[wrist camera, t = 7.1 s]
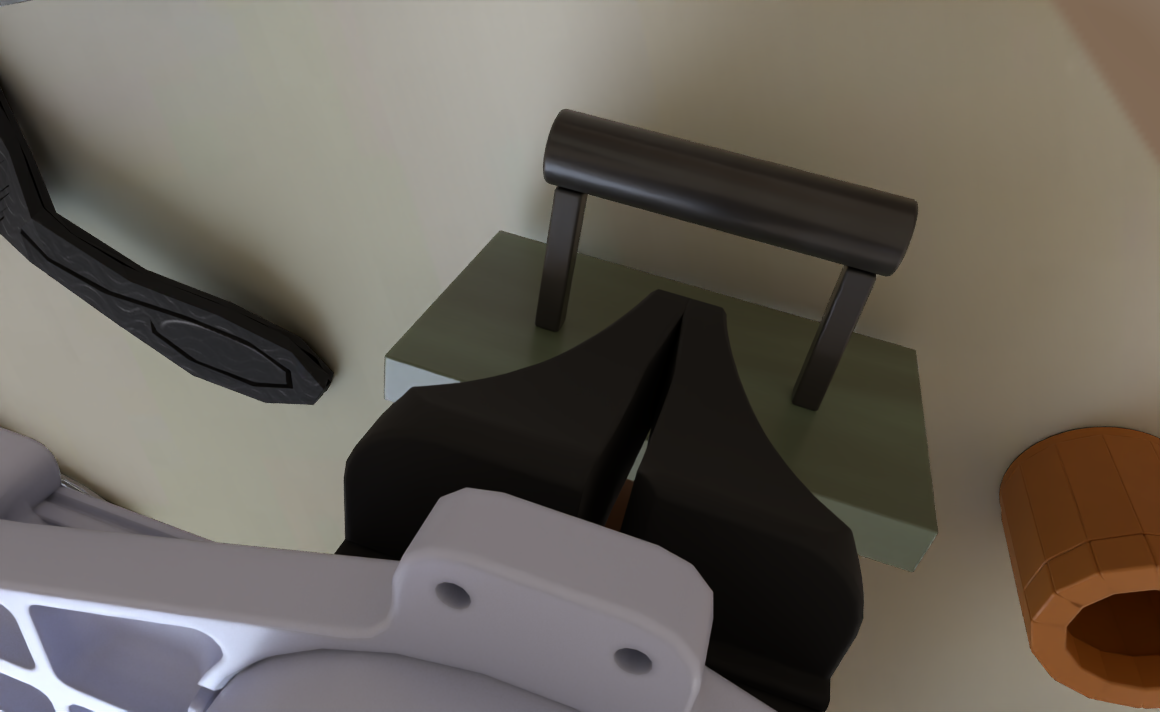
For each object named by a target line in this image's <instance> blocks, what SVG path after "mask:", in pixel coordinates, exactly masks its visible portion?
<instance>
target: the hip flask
mask: <svg viewBox="0 0 1160 712" xmlns="http://www.w3.org/2000/svg"><path fill="white" fill-rule="evenodd" d="M26 1H31V0H0V6H5V5H10V4H15V3H20V2H26Z"/></svg>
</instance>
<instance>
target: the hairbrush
mask: <svg viewBox="0 0 1160 712" xmlns="http://www.w3.org/2000/svg"><path fill="white" fill-rule="evenodd" d="M0 234H1V235H2V236H3V237H4V238H6V239H7V240H8V241H9V242H10V243H11V244H12V245H13V246H14V247H15V248H16V249H17V250H18V251H19V252H20V253H21V254H22V255H24V256H25V257H26V258H27V259H28V260H29V261H30V262H31V263H32V264H34V265H35V266H37V267H38V268H39V269H41V270H42V271H44V272H45V273H46V274H48V275H49V276H51V277H52V278H53V279H55V280H56V281H58V282H59V283H60V284H62V285H63V286H65V287H66V288H67V289H69V290H70V291H72V292H73V293H74V294H76V295H77V296H79V297H80V298H81V299H83V300H84V301H86V302H87V303H88V304H90V305H91V306H93V307H94V308H95V309H97V310H98V311H100V312H101V313H103V314H104V315H105V316H107V317H108V318H110V319H111V320H112V321H114V322H115V323H117V324H118V325H119V326H121V327H122V328H124V329H125V330H127V331H128V332H130V333H131V334H133V335H134V336H136V337H137V338H139V339H140V340H141V341H143V342H144V343H146V344H147V345H149V346H150V347H152V348H153V349H155V350H156V351H158V352H159V353H161V354H162V355H164V356H165V357H167V358H168V359H169V360H171V361H172V362H174V363H175V364H177V365H178V366H180V367H181V368H183V369H184V370H186V371H187V372H189V373H190V374H192V375H193V376H196V377H198V378H201V379H204V380H206V381H209V382H212V383H214V384H217V385H220V386H222V387H225V388H228V389H230V390H233V391H236V392H238V393H241V394H244V395H246V396H249V397H252V398H254V399H257V400H260V401H262V402H265V403H285V404H308V405H314V404H315V403H316V402H317V401H318V399H319V398H320V397H321V396H322V395H323V393H324V392H326V391H327V389H328V387H329V385H330V383H331V380H332V377H333V374H334V373H333V372H332V371H331V370H330V369H329V368H328V367H327V366H326V364H325V363H324V362H323V361H322V360H321V359H320V358H319V357H318V356H317V355H316V354H315V353H314V352H313V350H312V349H311V348H310V347H309V346H308V345H307V344H306V343H305V342H304V341H303V340H302V339H301V338H300V337H299V336H297V335H295V334H293V333H291V332H289V331H287V330H285V329H283V328H281V327H279V326H277V325H275V324H273V323H271V322H269V321H267V320H265V319H263V318H261V317H259V316H257V315H255V314H253V313H251V312H249V311H247V310H245V309H243V308H241V307H239V306H237V305H235V304H233V303H231V302H228V301H226V300H223V299H221V298H218V297H215V296H213V295H210V294H208V293H205V292H203V291H200V290H197V289H195V288H192V287H190V286H187V285H185V284H182V283H179V282H177V281H174V280H172V279H169V278H166V277H164V276H161V275H159V274H156V273H154V272H151V271H148V270H146V269H144V268H143V267H141V266H139V265H138V264H136V263H135V262H133V261H132V260H130V259H128V258H127V257H125V256H124V255H122V254H121V253H119V252H117V251H116V250H114V249H113V248H111V247H110V246H108V245H106V244H105V243H103V242H102V241H100V240H98V239H97V238H95V237H94V236H92V235H91V234H89V233H87V232H86V231H84V230H83V229H81V228H80V227H78V226H76V225H75V224H73V223H72V222H70V221H69V220H67V219H65V218H64V217H62V216H61V215H59V214H58V213H56V211H55V209H54V206H53V204H52V201H51V199H50V196H49V194H48V192H47V189H46V187H45V184H44V182H43V180H42V177H41V175H40V172H39V170H38V167H37V165H36V163H35V160H34V158H33V155H32V153H31V151H30V149H29V146H28V144H27V142H26V140H25V138H24V136H23V134H22V132H21V130H20V128H19V125H18V123H17V121H16V119H15V117H14V115H13V113H12V111H11V109H10V106H9V104H8V102H7V100H6V98H5V96H4V94H3V92H2V90H1V87H0Z"/></svg>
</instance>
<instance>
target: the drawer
mask: <svg viewBox="0 0 1160 712" xmlns="http://www.w3.org/2000/svg"><path fill="white" fill-rule="evenodd" d="M543 174H544V179H545V181H546V182H547V183H549V184H553V185H556V186H557V188H556V189H555V192H554V199H553V205H552V212H551V219H550V225H549V232H548V238H547V244H546V243H542V242H539V241H535V240H532V239H528V238H525V237H521V236H518V235H514V234H511V233H507V232H504V231H499V232H498V233H497V234H496V235H495V236H494V237H493V239H492V240H491V241H490V242H489V243H488V244H487V245H486V246H485V247H484V248H483V249H482V251H481V252H480V253H479V254H478V255H477V256H476V257H475V258H474V259H473V260H472V261H471V262H470V264H469V265H468V266H467V267H466V268H465V269H464V270H463V271H462V272H461V273H460V274H459V276H458V277H457V278H456V279H455V280H454V281H453V282H452V283H451V284H450V285H449V286H448V288H447V289H446V290H445V291H444V292H443V293H442V294H441V295H440V296H439V297H438V298H437V299H436V301H435V302H434V303H433V304H432V305H431V306H430V307H429V308H428V309H427V310H426V311H425V313H424V314H423V315H422V316H421V317H420V318H419V319H418V320H417V321H416V322H415V323H414V325H413V326H412V327H411V328H410V329H409V330H408V331H407V332H406V333H405V334H404V335H403V336H402V338H401V339H400V340H399V341H398V342H397V343H396V344H395V345H394V346H393V347H392V348H391V350H390V351H389V352H388V353H387V354H386V355H385V370H384V399H386V400H389V401H392V402H396V401H397V400H398V399H399V398H400V397H402V396H403V395H404V394H405V393H406V392H407V391H408V390H409V389H410V388H411V387H414V386H429V385H440V384H451V383H460V382H467V381H472V380H478V379H483V378H488V377H493V376H497V375H502V374H506V373H509V372H512V371H516V370H519V369H522V368H525V367H528V366H531V365H534V364H538V363H541V362H543V361H546V360H548V359H551V358H553V357H555V356H557V355H559V354H561V353H564V352H566V351H568V350H569V349H571V348H573V347H575V346H577V345H579V344H580V343H582V342H584V341H586V340H587V339H589V338H591V337H592V336H594V335H596V334H597V333H599V332H601V331H602V330H604V329H605V328H607V327H608V326H609V325H611V324H612V323H614V322H615V321H616V320H618V319H619V318H621V317H622V316H624V315H625V314H626V313H627V312H629V311H630V310H631V309H633V308H634V307H635V306H636V305H637V304H639V303H640V302H641V301H642V300H643V299H644V298H646V297H647V296H648V295H649V294H650V293H651V292H653V291H655V290H657V289H661V290H664V291H668V292H671V293H675V294H678V295H681V296H685V297H688V298H692V299H695V300H699V301H702V302H705V303H709V304H712V305H716V306H719V307H723V309H724V311H725V312H726V314H727V330H728V336H729V341H730V346H731V350H732V354H733V358H734V361H735V364H736V367H737V371H738V374H739V377H740V380H741V383H742V385H743V388H744V390H745V393H746V395H747V398H748V400H749V403H750V405H751V407H752V409H753V411H754V413H755V415H756V418H757V419H758V421H759V423H760V425H761V427H762V429H763V430H764V432H765V434H766V436H767V437H768V439H769V440H770V442H771V443H772V445H773V446H774V448H775V449H776V450H777V452H778V453H779V455H780V456H781V457H782V459H783V460H784V461H785V463H786V464H787V465H788V467H789V468H790V469H791V470H792V471H793V473H794V474H795V475H796V476H797V477H798V478H799V480H800V481H801V482H802V483H803V484H804V485H805V486H806V487H807V488H808V489H809V490H810V492H811V493H812V494H813V495H814V496H815V497H816V498H817V499H818V500H819V501H820V502H822V503H823V504H824V505H825V506H826V507H827V508H828V509H829V510H830V511H832V512H833V513H834V514H835V515H836V516H837V517H838V518H839V519H840V520H842V521H843V522H844V523H845V524H846V525H847V526H848V527H849V528H850V529H851V530H852V532H853V536H854V540H855V545H856V549H857V554H858V555H861V556H864V557H867V558H870V559H873V560H876V561H879V562H882V563H885V564H888V565H891V566H894V567H897V568H900V569H903V570H906V571H909V572H914V570H915V569H916V567H917V565H918V564H919V562H920V561H921V559H922V558H923V556H924V554H925V553H926V551H927V550H928V548H929V547H930V545H931V544H932V542H933V540H934V539H935V537H936V536H937V534H938V526H937V518H936V510H935V502H934V493H933V485H932V477H931V469H930V461H929V453H928V445H927V437H926V429H925V421H924V413H923V404H922V396H921V388H920V380H919V372H918V364H917V356H916V350H914V349H910V348H907V347H904V346H900V345H897V344H893V343H890V342H886V341H883V340H879V339H876V338H872V337H869V336H865V335H862V334H858V333H855V332H853V331H854V328H855V326H856V324H857V322H858V319H859V317H860V315H861V313H862V310H863V308H864V306H865V304H866V301H867V299H868V297H869V295H870V292H871V290H872V288H873V286H874V283H875V281H876V274H879V275H882V276H891V275H892V274H893V273H894V272H895V271H896V270H897V268H898V267H899V265H900V263H901V262H902V260H903V258H904V256H905V253H906V251H907V249H908V246H909V244H910V241H911V238H912V235H913V232H914V229H915V225H916V221H917V215H918V203H917V201H915V200H914V199H911V198H907V197H903V196H899V195H895V194H891V193H888V192H884V191H880V190H876V189H872V188H868V187H865V186H861V185H857V184H853V183H849V182H845V181H842V180H838V179H834V178H830V177H826V176H822V175H819V174H815V173H811V172H807V171H803V170H799V169H796V168H792V167H788V166H784V165H780V164H776V163H773V162H769V161H765V160H761V159H757V158H753V157H750V156H746V155H742V154H738V153H734V152H730V151H726V150H723V149H719V148H715V147H711V146H707V145H703V144H700V143H696V142H692V141H688V140H684V139H680V138H677V137H673V136H669V135H665V134H661V133H657V132H654V131H650V130H646V129H642V128H638V127H634V126H631V125H627V124H623V123H619V122H615V121H611V120H608V119H604V118H600V117H596V116H592V115H588V114H585V113H581V112H577V111H573V110H569V109H563V110H561V111H560V112H559V114H558V115H557V117H556V119H555V121H554V123H553V125H552V127H551V130H550V133H549V136H548V140H547V144H546V148H545V154H544V162H543ZM588 194H589V195H592V196H596V197H600V198H603V199H607V200H611V201H614V202H618V203H621V204H625V205H629V206H632V207H636V208H640V209H643V210H647V211H650V212H654V213H658V214H661V215H665V216H668V217H672V218H676V219H679V220H683V221H687V222H690V223H694V224H697V225H701V226H705V227H708V228H712V229H716V230H719V231H723V232H726V233H730V234H734V235H737V236H741V237H745V238H748V239H752V240H755V241H759V242H763V243H766V244H770V245H774V246H777V247H781V248H784V249H788V250H792V251H795V252H799V253H803V254H806V255H810V256H813V257H817V258H821V259H824V260H828V261H832V262H835V263H839V264H842V265H844V266H843V268H842V271H841V273H840V276H839V278H838V281H837V283H836V285H835V288H834V290H833V293H832V295H831V298H830V300H829V303H828V305H827V307H826V310H825V312H824V315H823V317H822V320H821V322H817V321H813V320H810V319H806V318H803V317H799V316H796V315H792V314H789V313H785V312H782V311H778V310H775V309H771V308H768V307H765V306H761V305H758V304H754V303H751V302H747V301H744V300H740V299H737V298H733V297H730V296H726V295H723V294H719V293H716V292H712V291H709V290H705V289H702V288H699V287H695V286H692V285H688V284H685V283H681V282H678V281H674V280H671V279H667V278H664V277H660V276H657V275H653V274H650V273H646V272H643V271H639V270H636V269H633V268H629V267H626V266H622V265H619V264H615V263H612V262H608V261H605V260H601V259H598V258H594V257H591V256H587V255H584V254H580V253H577V251H578V246H579V240H580V235H581V229H582V223H583V218H584V212H585V207H586V201H587V196H588ZM650 430H651V429H650ZM649 435H650V431H649V433H648V435H647V437H646V439H645V442H644V444H643V446H642V448H641V450H640V452H639V454H638V456H637V458H636V460H635V463H634V465H633V467H632V469H631V471H630V473H629V475H628V477H627V479H626V481H625V483H624V485H623V487H622V490H621V492H620V494H619V496H618V498H617V500H616V502H615V504H614V506H613V508H612V510H611V512H610V515H609V517H608V520H607V522H606V524H605V527H606V528H609V529H612V530H615V531H618V532H620V529H621V526H622V522H623V519H624V515H625V511H626V508H627V504H628V501H629V497H630V494H631V490H632V487H633V483H634V480H635V476H636V472H637V470H638V468H639V465H640V463H641V461H642V458H643V456H644V454H645V451H646V449H647V444H648V439H649Z"/></svg>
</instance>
